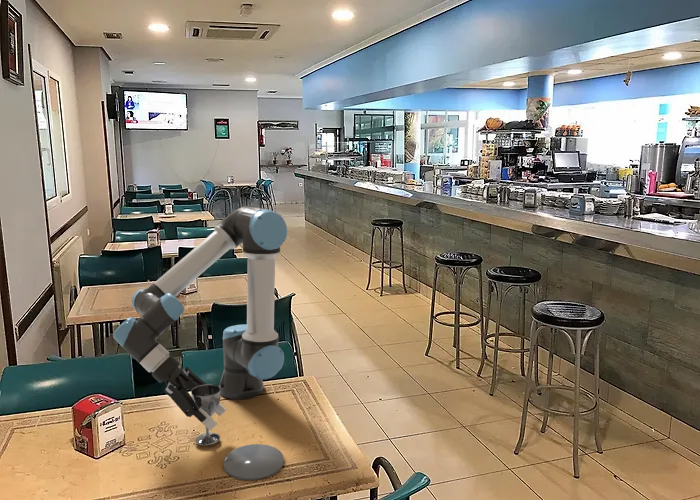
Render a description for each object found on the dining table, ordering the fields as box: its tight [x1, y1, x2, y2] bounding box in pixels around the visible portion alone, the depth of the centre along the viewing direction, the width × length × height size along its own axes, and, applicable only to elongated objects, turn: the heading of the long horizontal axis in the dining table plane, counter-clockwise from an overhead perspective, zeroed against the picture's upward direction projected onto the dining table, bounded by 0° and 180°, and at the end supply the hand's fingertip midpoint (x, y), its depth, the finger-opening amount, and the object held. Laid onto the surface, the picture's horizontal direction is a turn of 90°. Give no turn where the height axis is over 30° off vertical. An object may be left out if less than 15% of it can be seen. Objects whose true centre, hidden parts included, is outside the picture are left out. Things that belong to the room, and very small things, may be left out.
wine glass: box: [190, 383, 221, 446], centre depth 165 cm, size 8×8×15 cm
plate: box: [223, 443, 285, 481], centre depth 156 cm, size 16×16×1 cm
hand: (218, 419), depth 165 cm, fingers closed on wine glass, 8 cm apart
